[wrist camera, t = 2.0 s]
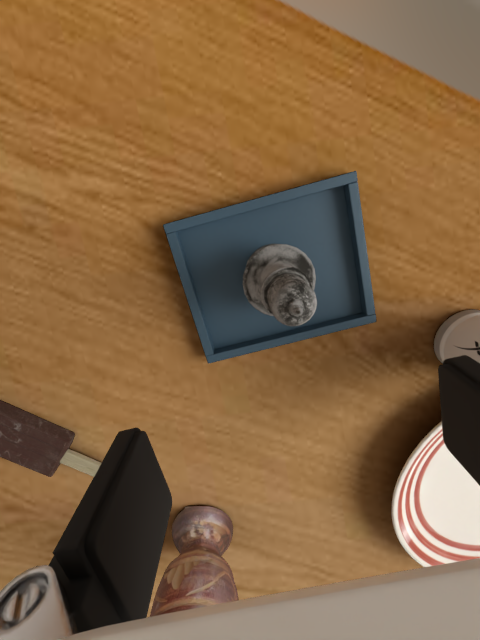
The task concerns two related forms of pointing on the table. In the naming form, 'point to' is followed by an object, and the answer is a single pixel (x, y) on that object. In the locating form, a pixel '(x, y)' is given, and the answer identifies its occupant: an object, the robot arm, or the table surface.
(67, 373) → the table surface
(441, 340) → the travel mug
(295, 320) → the stone chess piece
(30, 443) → the ice cream bar
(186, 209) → the table surface
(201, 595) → the mortar and pestle
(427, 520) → the dinner plate
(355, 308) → the blue tray
